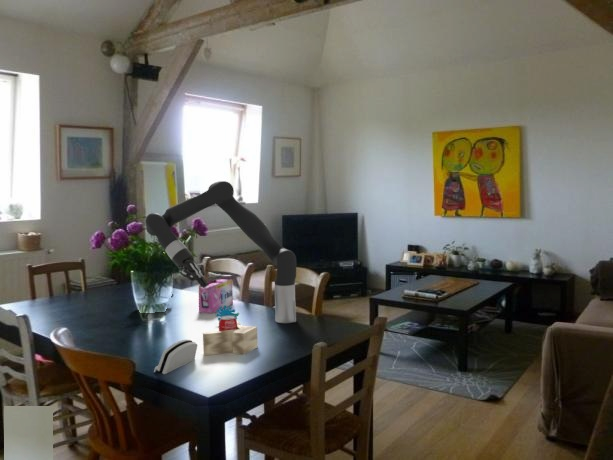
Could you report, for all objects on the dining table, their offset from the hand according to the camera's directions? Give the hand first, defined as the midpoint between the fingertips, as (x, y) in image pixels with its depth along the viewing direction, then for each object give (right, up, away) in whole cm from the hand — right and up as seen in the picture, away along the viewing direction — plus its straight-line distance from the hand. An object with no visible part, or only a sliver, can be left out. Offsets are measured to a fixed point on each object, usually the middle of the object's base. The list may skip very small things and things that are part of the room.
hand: (206, 286), depth 211 cm
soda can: (+9, -24, -1) cm, 26 cm away
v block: (+12, -24, -3) cm, 27 cm away
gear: (+3, -21, +35) cm, 41 cm away
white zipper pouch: (-6, -26, -22) cm, 34 cm away
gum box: (-7, -18, +65) cm, 68 cm away
